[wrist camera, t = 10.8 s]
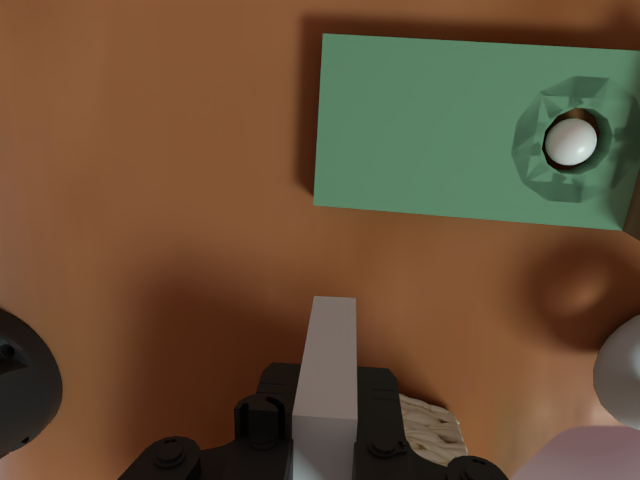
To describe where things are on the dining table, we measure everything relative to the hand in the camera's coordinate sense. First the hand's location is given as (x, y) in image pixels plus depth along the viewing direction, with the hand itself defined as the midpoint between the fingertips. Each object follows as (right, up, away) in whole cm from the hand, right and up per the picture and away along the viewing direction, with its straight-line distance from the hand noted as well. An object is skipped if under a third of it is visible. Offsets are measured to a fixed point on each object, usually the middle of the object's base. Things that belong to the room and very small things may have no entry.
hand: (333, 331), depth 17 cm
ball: (+17, +10, +16) cm, 25 cm away
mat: (+11, +11, +18) cm, 24 cm away
